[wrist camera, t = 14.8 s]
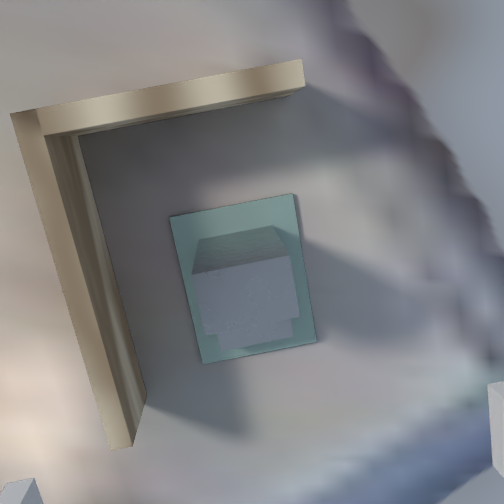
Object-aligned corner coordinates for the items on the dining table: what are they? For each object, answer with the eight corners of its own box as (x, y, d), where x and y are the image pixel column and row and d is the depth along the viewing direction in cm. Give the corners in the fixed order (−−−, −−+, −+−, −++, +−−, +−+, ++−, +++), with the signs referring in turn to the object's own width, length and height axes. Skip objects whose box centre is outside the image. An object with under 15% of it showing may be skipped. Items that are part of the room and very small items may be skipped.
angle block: (198, 239, 38) (191, 275, 28) (271, 225, 38) (289, 255, 28) (221, 340, 40) (221, 406, 30) (290, 326, 40) (312, 387, 30)
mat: (203, 362, 41) (202, 364, 40) (169, 217, 38) (169, 217, 37) (316, 340, 41) (316, 341, 41) (292, 193, 38) (292, 193, 37)
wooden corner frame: (128, 398, 41) (110, 450, 34) (50, 118, 35) (9, 113, 28) (330, 358, 41) (352, 402, 35) (286, 73, 36) (301, 58, 29)
